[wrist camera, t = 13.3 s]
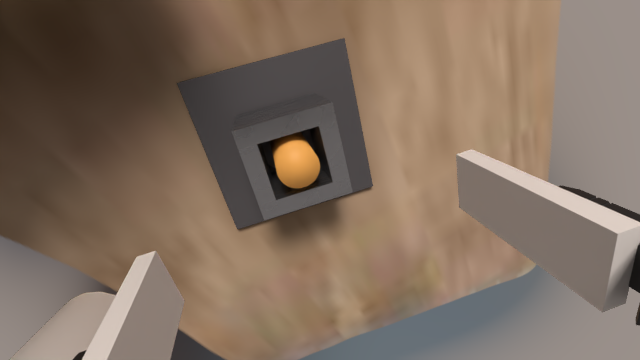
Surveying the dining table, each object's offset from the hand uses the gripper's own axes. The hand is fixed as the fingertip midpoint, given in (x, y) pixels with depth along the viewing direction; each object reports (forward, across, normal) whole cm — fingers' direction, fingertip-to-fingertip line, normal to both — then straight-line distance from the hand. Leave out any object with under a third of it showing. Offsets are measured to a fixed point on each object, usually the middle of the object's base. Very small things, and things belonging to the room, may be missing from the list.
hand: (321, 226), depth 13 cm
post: (+17, 0, -1) cm, 17 cm away
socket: (+16, 0, -1) cm, 16 cm away
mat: (+17, 0, -1) cm, 17 cm away
